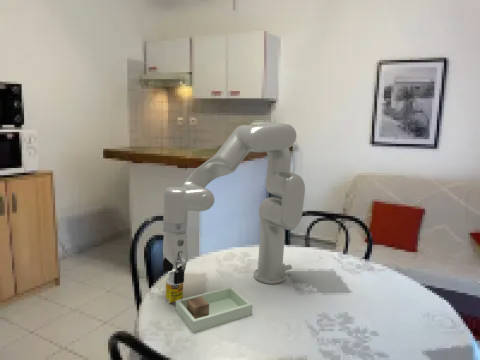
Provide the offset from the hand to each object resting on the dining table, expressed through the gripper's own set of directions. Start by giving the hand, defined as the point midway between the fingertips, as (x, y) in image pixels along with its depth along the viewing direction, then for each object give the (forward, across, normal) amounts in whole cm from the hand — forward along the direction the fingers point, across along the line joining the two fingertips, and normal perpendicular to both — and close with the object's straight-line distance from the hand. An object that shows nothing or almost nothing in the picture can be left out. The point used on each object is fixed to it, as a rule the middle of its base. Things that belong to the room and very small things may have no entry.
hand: (172, 276), depth 114 cm
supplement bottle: (+9, 0, -1) cm, 9 cm away
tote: (+9, -12, -9) cm, 18 cm away
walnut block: (+8, -12, -3) cm, 15 cm away
